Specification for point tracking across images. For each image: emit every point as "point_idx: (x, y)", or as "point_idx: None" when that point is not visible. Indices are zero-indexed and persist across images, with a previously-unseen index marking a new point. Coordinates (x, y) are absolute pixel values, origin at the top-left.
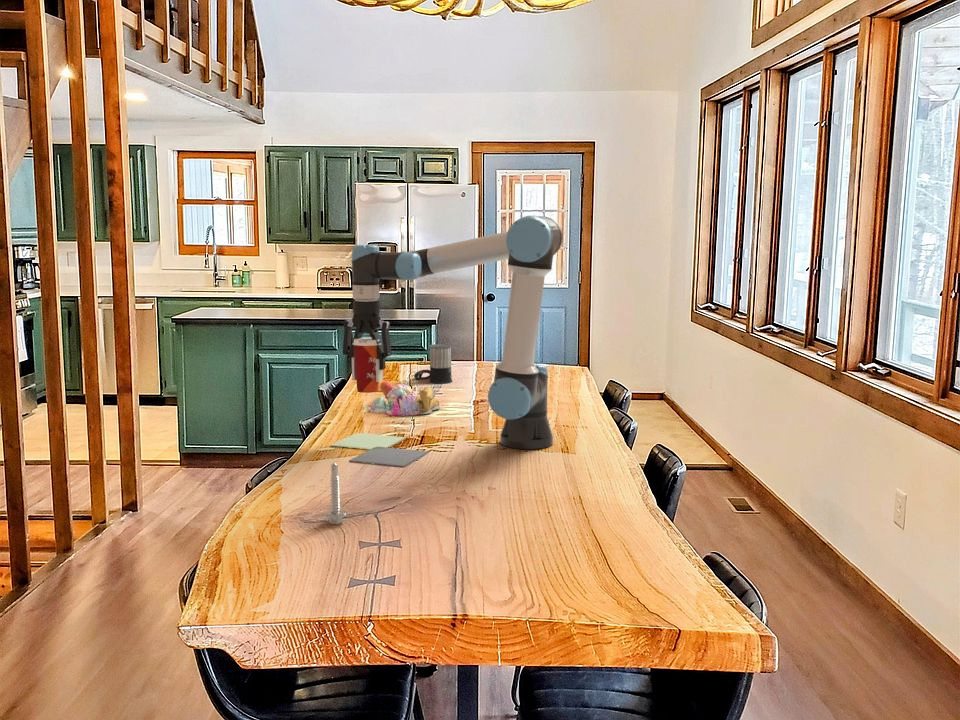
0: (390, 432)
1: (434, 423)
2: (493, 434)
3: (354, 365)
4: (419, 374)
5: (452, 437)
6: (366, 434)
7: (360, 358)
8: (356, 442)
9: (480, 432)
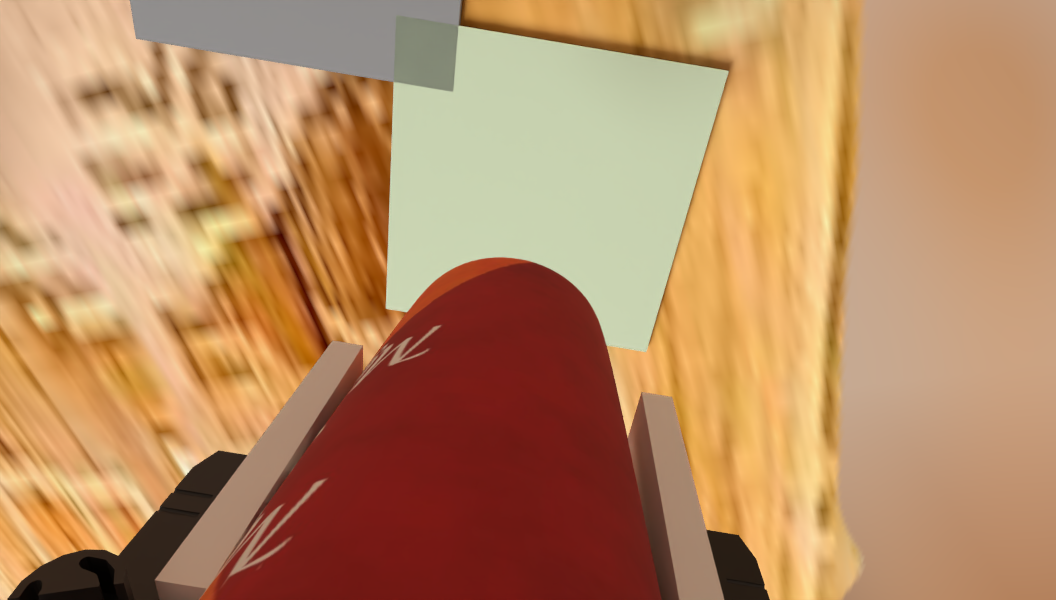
0: None
1: None
2: (78, 426)
3: (664, 543)
4: None
5: (202, 359)
6: None
7: (476, 536)
8: (591, 162)
9: (143, 448)
